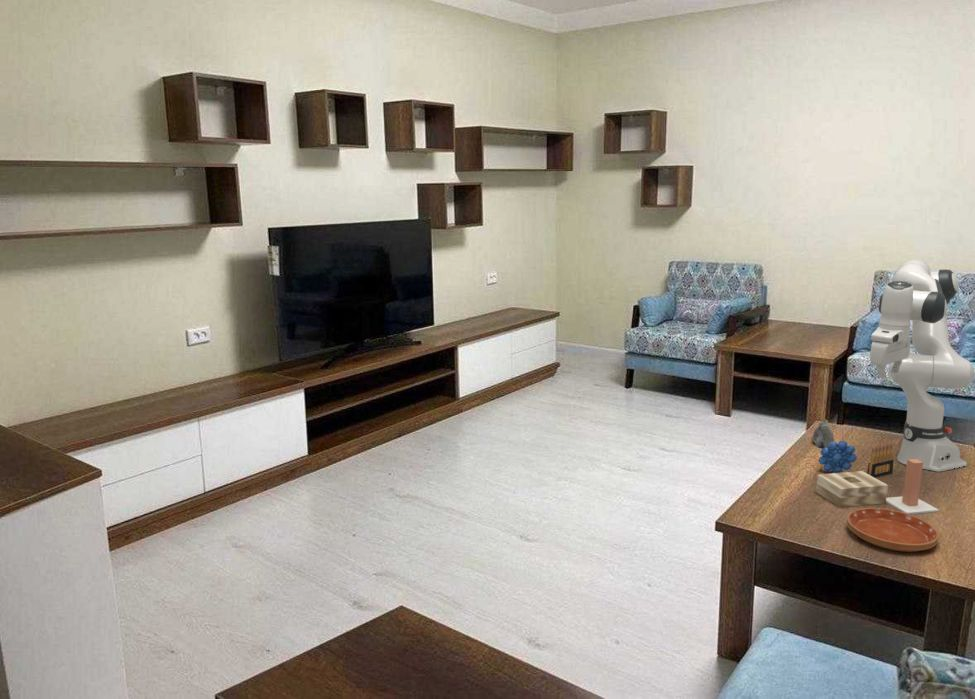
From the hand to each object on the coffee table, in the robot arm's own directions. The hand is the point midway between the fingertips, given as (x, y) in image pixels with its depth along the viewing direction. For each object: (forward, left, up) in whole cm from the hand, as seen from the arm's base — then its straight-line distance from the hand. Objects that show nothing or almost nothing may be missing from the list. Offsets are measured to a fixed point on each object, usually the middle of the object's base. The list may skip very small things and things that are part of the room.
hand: (888, 375), depth 244 cm
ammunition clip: (-6, -6, -37) cm, 38 cm away
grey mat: (+2, +18, -37) cm, 41 cm away
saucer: (+22, +35, -38) cm, 56 cm away
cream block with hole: (+16, +9, -37) cm, 41 cm away
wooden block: (+2, +18, -36) cm, 41 cm away
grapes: (+7, -11, -37) cm, 39 cm away
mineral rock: (-7, -38, -37) cm, 54 cm away
